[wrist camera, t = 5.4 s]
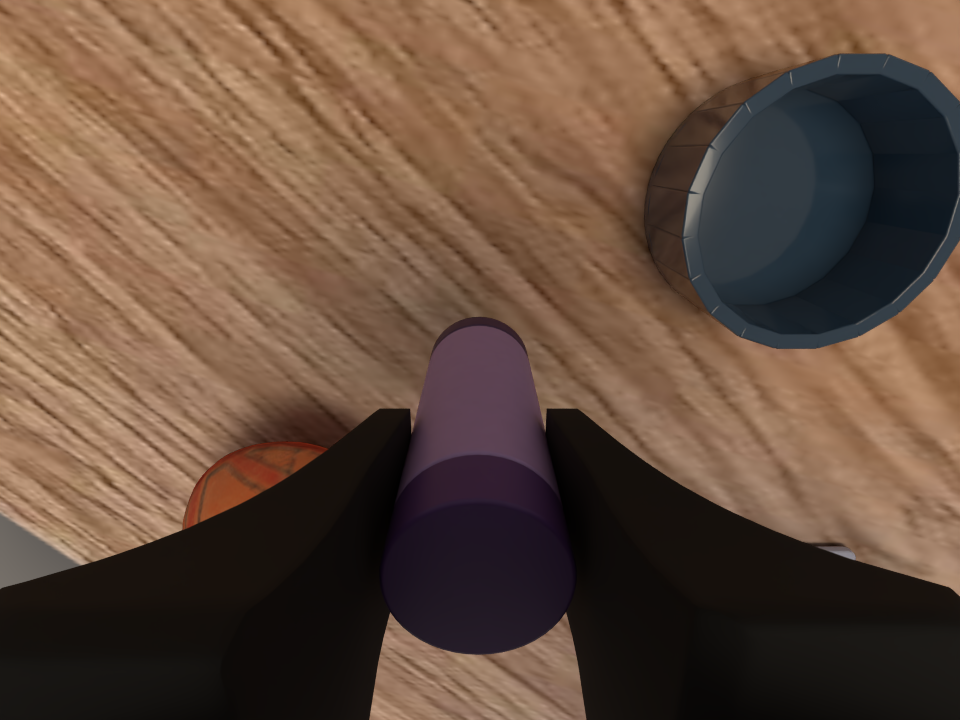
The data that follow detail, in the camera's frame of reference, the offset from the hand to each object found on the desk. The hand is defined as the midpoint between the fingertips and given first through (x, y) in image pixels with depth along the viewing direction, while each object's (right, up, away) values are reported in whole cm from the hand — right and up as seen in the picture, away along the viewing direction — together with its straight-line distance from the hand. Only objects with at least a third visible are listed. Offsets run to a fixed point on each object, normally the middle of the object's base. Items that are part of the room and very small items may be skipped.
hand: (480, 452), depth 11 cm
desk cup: (+10, +8, +8) cm, 15 cm away
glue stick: (0, +2, +5) cm, 5 cm away
